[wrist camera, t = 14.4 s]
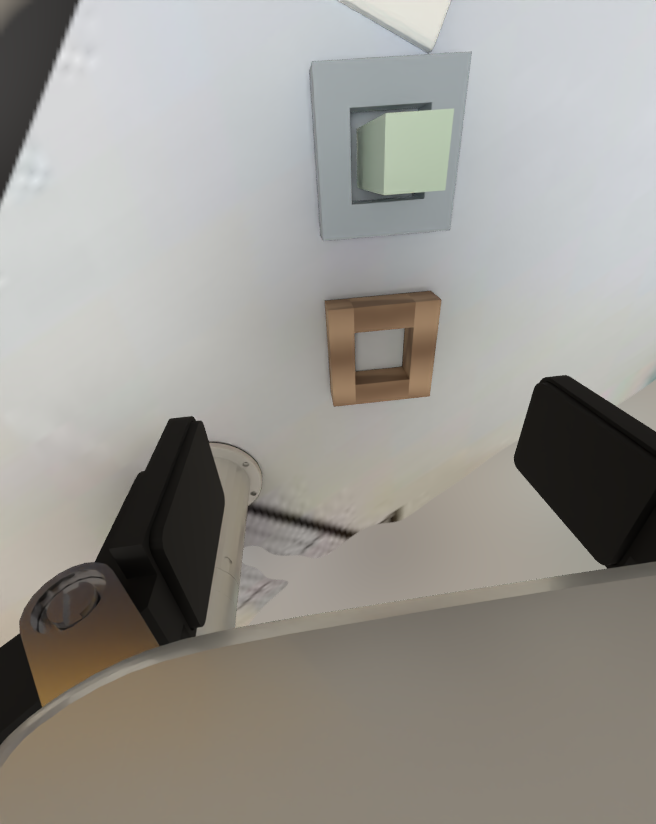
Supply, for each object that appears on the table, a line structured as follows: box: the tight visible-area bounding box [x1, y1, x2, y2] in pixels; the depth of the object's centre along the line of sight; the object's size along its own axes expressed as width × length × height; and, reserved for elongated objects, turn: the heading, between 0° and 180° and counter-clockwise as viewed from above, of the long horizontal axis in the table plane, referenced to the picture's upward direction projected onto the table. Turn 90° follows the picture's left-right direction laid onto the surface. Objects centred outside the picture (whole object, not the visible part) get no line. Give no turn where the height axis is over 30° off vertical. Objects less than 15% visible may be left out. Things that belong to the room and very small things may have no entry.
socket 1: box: [309, 51, 472, 241], centre depth 28 cm, size 11×11×3 cm
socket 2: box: [325, 291, 441, 406], centre depth 38 cm, size 11×11×3 cm
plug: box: [357, 109, 454, 195], centre depth 25 cm, size 4×4×10 cm
